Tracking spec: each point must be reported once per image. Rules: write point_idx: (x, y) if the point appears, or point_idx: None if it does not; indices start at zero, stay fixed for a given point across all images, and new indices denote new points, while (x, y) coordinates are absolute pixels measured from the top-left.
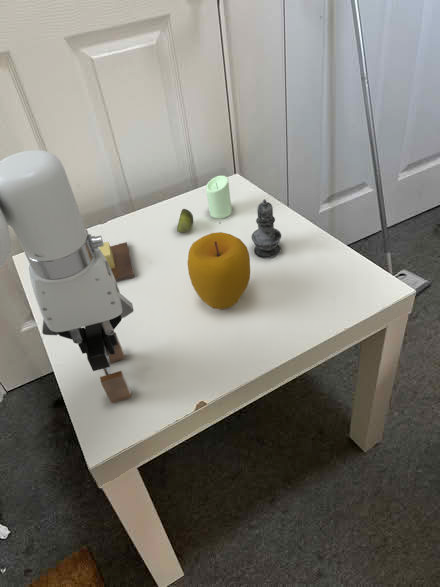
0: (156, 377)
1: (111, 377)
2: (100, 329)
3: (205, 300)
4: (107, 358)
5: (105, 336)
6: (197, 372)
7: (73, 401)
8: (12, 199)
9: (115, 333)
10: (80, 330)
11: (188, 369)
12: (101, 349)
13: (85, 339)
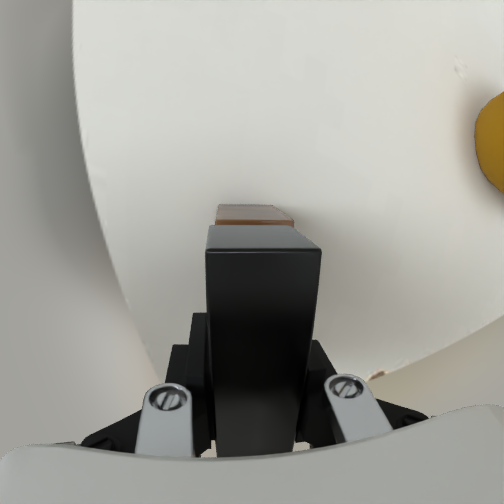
0: (331, 305)
1: None
2: (292, 424)
3: (496, 171)
4: None
5: (300, 439)
6: (403, 315)
7: (133, 305)
8: None
9: (293, 226)
10: (194, 436)
11: (393, 304)
12: None
13: (210, 432)
